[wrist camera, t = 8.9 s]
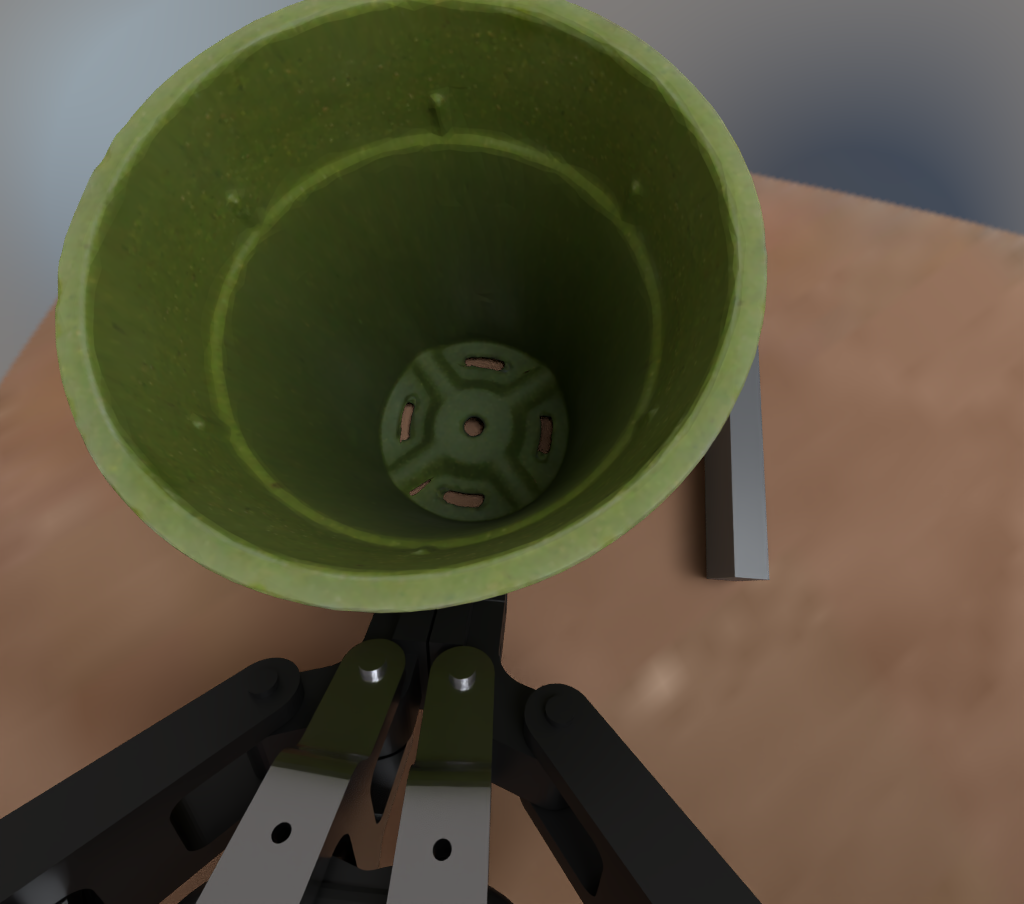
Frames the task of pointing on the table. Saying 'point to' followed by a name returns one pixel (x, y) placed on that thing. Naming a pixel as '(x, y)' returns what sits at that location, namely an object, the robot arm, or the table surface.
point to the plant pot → (410, 297)
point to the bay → (738, 491)
